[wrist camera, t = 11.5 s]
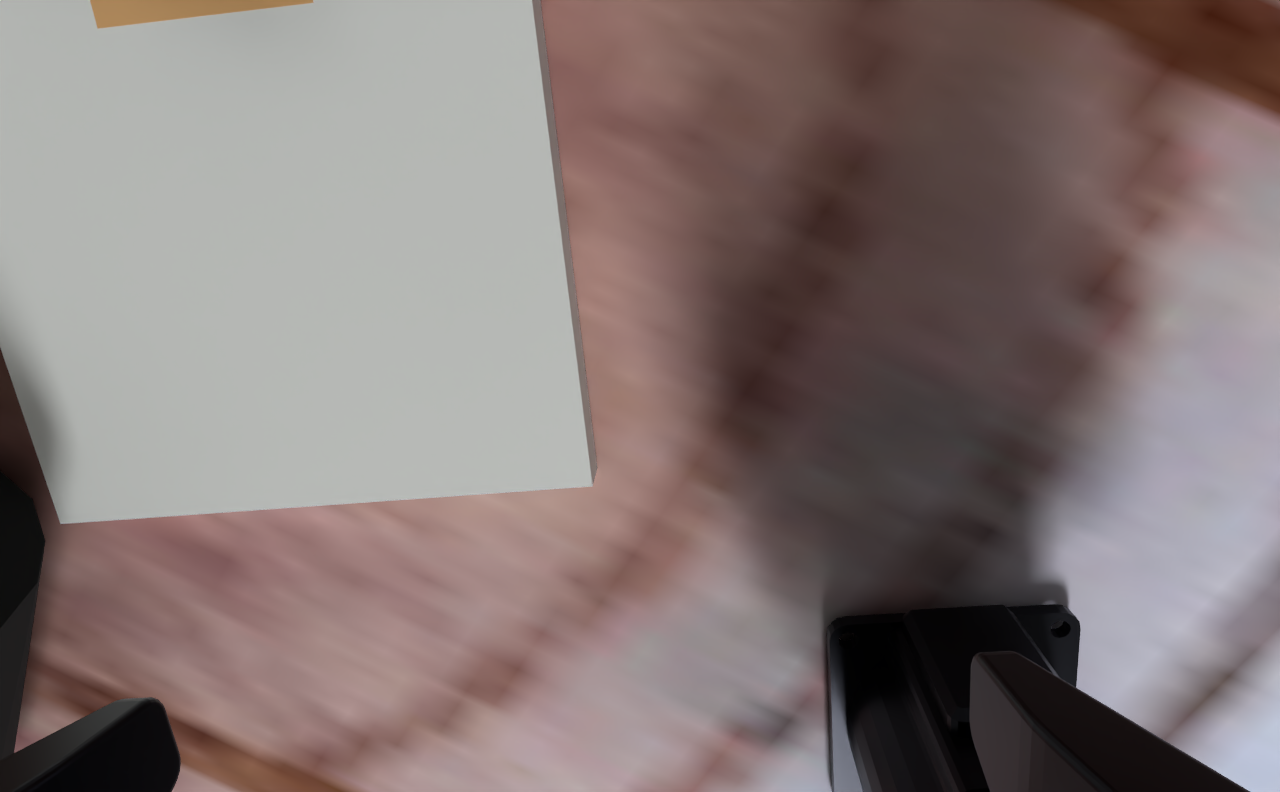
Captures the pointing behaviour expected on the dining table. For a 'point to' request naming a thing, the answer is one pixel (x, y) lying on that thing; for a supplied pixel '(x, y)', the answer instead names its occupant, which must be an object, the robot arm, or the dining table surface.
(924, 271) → the dining table surface
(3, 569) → the striped bottle lying down
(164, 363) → the board
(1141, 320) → the dining table surface
